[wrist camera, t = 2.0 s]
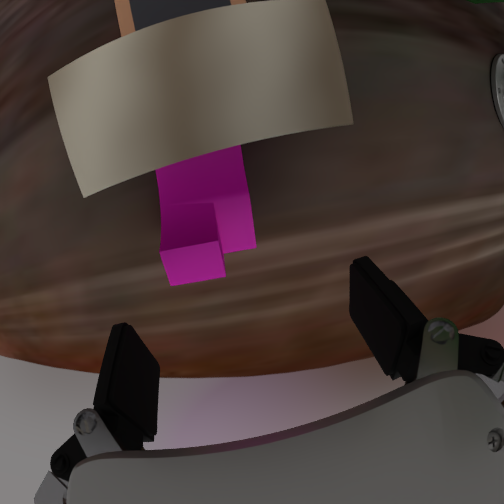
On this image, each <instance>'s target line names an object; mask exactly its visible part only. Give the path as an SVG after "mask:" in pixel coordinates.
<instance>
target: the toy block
mask: <svg viewBox="0 0 504 504" xmlns="http://www.w3.org/2000/svg"><path fill="white" fill-rule="evenodd" d="M156 176H157V182H158V189H159V198H160V209H161V243H160V250H159V252H160V256H161V259H162V262H163V265H164V267H165V270H166V273H167V276H168V279H169V282H170V285H171V286H175V285H181V284H186V283H192V282H198V281H204V280H210V279H215V278H221V277H226V272H225V263H224V253H230V252H235V251H241V250H246V249H252V248H256V240H255V232H254V225H253V217H252V210H251V202H250V196H249V191H248V186H247V180H246V175H245V169H244V164H243V158H242V151H241V145H237V146H233V147H229V148H225V149H221V150H218V151H214V152H210V153H207V154H203V155H200V156H196V157H193V158H190V159H186V160H183V161H180V162H177V163H174V164H171V165H168V166H165V167H162V168H159V169H156Z"/></svg>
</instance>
